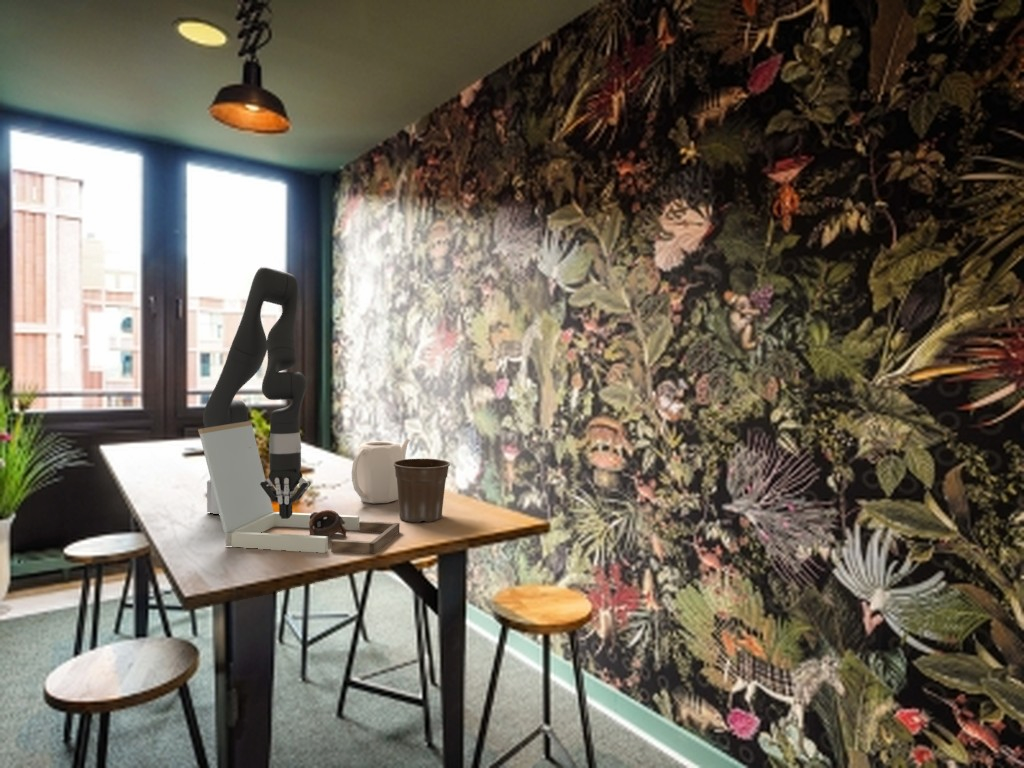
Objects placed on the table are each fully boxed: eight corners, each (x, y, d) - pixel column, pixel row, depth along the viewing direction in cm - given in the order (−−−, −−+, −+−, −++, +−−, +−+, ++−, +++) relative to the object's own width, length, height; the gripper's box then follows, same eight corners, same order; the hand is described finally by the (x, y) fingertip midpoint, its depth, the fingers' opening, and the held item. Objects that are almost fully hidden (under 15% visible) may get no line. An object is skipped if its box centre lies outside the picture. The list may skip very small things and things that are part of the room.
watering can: (426, 495, 204) (427, 440, 203) (371, 511, 181) (371, 448, 180) (391, 490, 212) (392, 436, 211) (334, 504, 188) (334, 445, 188)
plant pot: (458, 514, 179) (459, 460, 178) (433, 527, 163) (434, 468, 163) (410, 509, 184) (411, 456, 184) (382, 521, 169) (382, 464, 168)
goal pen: (331, 551, 142) (331, 541, 141) (361, 530, 160) (361, 521, 160) (374, 553, 140) (374, 543, 140) (399, 532, 158) (399, 522, 158)
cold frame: (198, 545, 145) (197, 428, 144) (247, 523, 165) (247, 420, 165) (324, 552, 140) (325, 432, 139) (359, 528, 161) (359, 423, 160)
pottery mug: (356, 538, 154) (350, 515, 150) (327, 562, 148) (319, 539, 144) (326, 519, 160) (319, 496, 156) (297, 542, 154) (289, 519, 150)
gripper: (252, 452, 150) (253, 521, 150) (303, 452, 148) (303, 522, 148) (268, 448, 157) (269, 513, 157) (316, 448, 155) (317, 515, 156)
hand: (286, 518), depth 153 cm, fingers closed
